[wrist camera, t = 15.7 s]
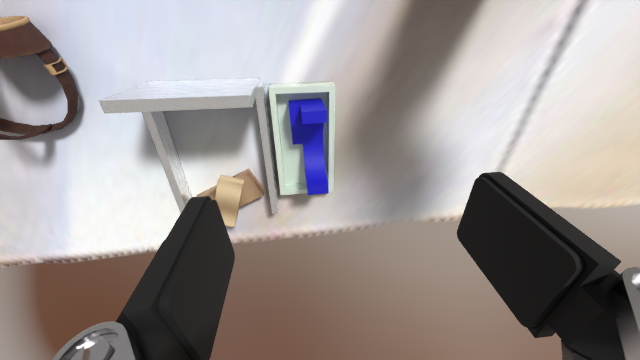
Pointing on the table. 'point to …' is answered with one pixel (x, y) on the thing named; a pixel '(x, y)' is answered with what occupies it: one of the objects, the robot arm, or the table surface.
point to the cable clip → (310, 140)
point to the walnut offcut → (249, 191)
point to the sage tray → (286, 152)
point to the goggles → (26, 39)
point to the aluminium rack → (193, 97)
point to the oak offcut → (229, 198)
